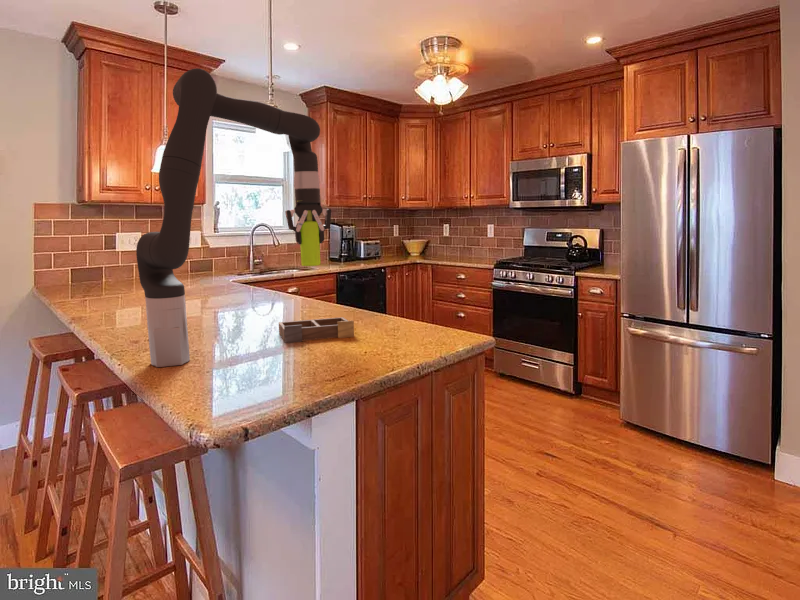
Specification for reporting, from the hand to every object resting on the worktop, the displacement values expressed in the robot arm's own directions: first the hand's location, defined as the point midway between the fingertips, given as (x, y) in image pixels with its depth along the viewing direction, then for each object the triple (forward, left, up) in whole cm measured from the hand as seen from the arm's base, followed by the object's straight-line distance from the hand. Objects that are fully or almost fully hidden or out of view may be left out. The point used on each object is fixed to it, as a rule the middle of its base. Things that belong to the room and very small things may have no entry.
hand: (310, 243), depth 159 cm
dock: (-1, 0, -29) cm, 29 cm away
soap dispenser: (0, 0, -7) cm, 7 cm away
